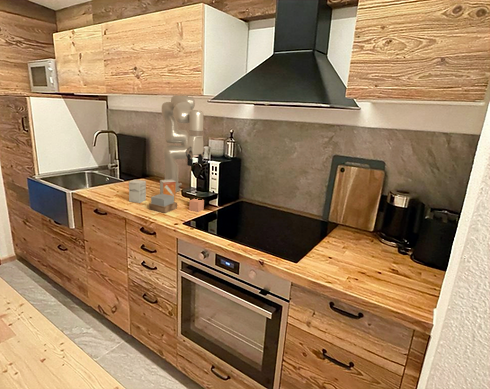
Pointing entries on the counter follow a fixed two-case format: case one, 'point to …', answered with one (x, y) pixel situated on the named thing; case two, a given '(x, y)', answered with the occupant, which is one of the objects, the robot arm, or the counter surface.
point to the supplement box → (137, 191)
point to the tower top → (162, 199)
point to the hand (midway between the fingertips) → (195, 164)
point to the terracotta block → (196, 205)
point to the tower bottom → (163, 207)
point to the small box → (168, 187)
